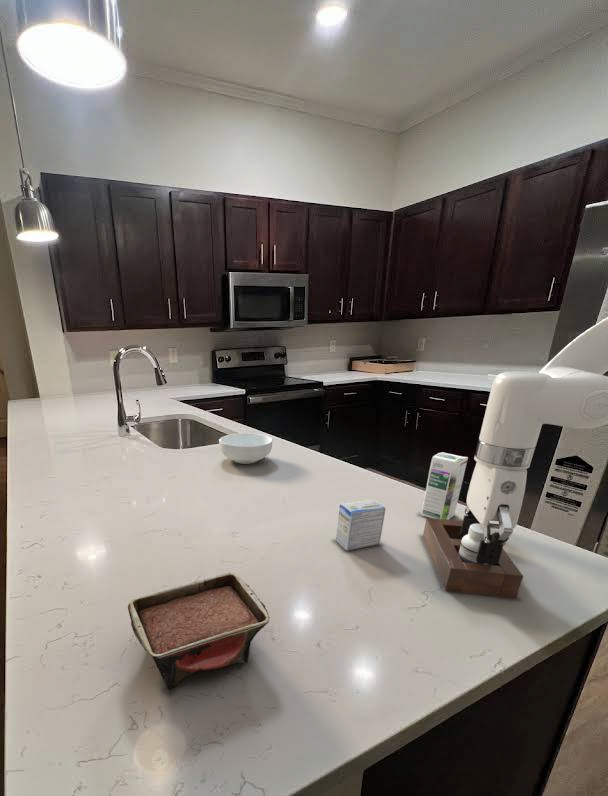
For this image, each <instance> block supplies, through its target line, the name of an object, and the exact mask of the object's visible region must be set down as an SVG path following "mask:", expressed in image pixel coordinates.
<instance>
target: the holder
mask: <svg viewBox="0 0 608 796" xmlns="http://www.w3.org/2000/svg"><path fill="white" fill-rule="evenodd" d="M462 523H463V520H457V519H449V520H445V519H433V518H429V517H425V523H424V527H423V528H424V529H423V533H422V539H423V541H424V544H425V546H426V548H427V551H428V553H429V555H430V558H431V560H432V562H433V565H434V567H435V570H436V572H437V574H438V577H439V579H440V581H441V584H442V587H443V588H444V590H445V591H448V592H455V593H465V594H474V595H483V596H490V597H500V598H505V599H506V598H507V599H514V600H515V599H517V597H518V593H519V591H520V587H521V586H522V585H521V584H522V581H523V578H524V575H523V574H522V572H521V571H520V569H519V568H518V566H517V565H516V564H515V563H514V561H513V560H512V559H511V557H510V556H509V555H508V553H507V552H506V551H505V549H504V548H503V549H502V552H501V556H500V559H499V562H498V564H496V565H495V564H492V565H485V564H475V563H465V562H462V560H461V558H460V556H459V554H458V553H459V549H460V544H461V541H462V538H463V537H464V536H461V534H460V531H461V527H462Z"/></svg>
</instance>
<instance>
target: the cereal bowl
mask: <svg viewBox="0 0 608 796" xmlns="http://www.w3.org/2000/svg"><path fill="white" fill-rule="evenodd" d="M218 445H219V450H220V452H221V454H222V455H223V456H224V457H225V458H227V459H229V460H232V461H233V462H234V463H237V464H242V465H249V464H255V463H257V462H258V461H260V460H262V459H265V458H266V457H267V456H268V455H269V454H270V453H271V451H272V448H273V439H272V437H271V436H268V435H266V434H261V433H260V434H259V433H252V432H241V433H239V432H238V433H231V434H227V435H224V436H221V437H220V438H219V439H218Z"/></svg>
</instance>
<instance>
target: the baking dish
mask: <svg viewBox="0 0 608 796" xmlns="http://www.w3.org/2000/svg"><path fill="white" fill-rule="evenodd" d="M127 610H128V615H129V618H130V626H131V628H132V631H133V634H134V636H135V638H136V639H137V640H138V642H139V644H140V645H141V646H142V648H143V649H144V651H145V652H146V653H148V655H150V656H151V657H152V659H153V661H154V664H155V665H156V668H157V669H158V671H159V673H160V674H161V678H162V679H163V682H164V684H165V686H166V688H167V690H169V691H171V690H172V688H173V687H175V686H176V685H177V684H178V683H179V682H180V681H182V680H183V679H185V678H187V677H189V676H191V675H192V674H194V673H196V672H197V671H204V672H205V671H211V670H218V669H220V668H223V667H227V666H230V665H232V664H237V663H242V664H243V663H244V664H248V662H249V656H250V650H251V643H252V641H253V639H254V638H255V637H256V635H257V634H258V633H259V632H260V631H262V629H263V628H264V627H265V626H266V625H268V624H269V622H270V615H269V611H268V609H267V608H266V605H265V604H264V602H262V601H261V599H260V598H259V597H258V595H257V593H255V592H254V590H253V589H252V588H250V585H248V584H247V583H246V582H245V581H244V580H243V579H242V578H241V577H240V576H238V575H237V574H235V573H234V572H228V573H223V574H219V575H216V576H212V577H209V578H208V577H207V578H205V579H202V580H197V581H194V582H189V583H186V584H184V585H179V586H176V587H172V588H169V589H165V590H162V591H157V592H153V593H150V594H146V595H143V596H138V597H136V598H133V599H132V600H131V601H130V602H129V603H128V605H127Z"/></svg>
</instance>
